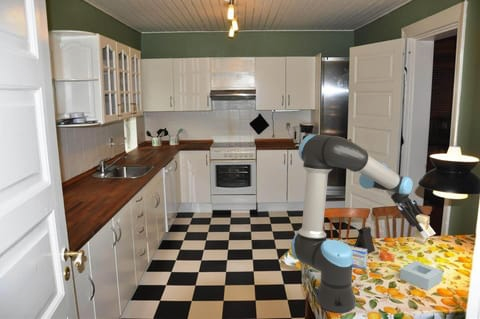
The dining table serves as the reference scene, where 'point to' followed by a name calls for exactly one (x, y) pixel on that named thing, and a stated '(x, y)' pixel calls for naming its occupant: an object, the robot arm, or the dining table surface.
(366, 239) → the black jug
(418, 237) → the peg
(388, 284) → the dining table surface
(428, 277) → the socket block
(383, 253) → the rock
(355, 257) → the medicine box
